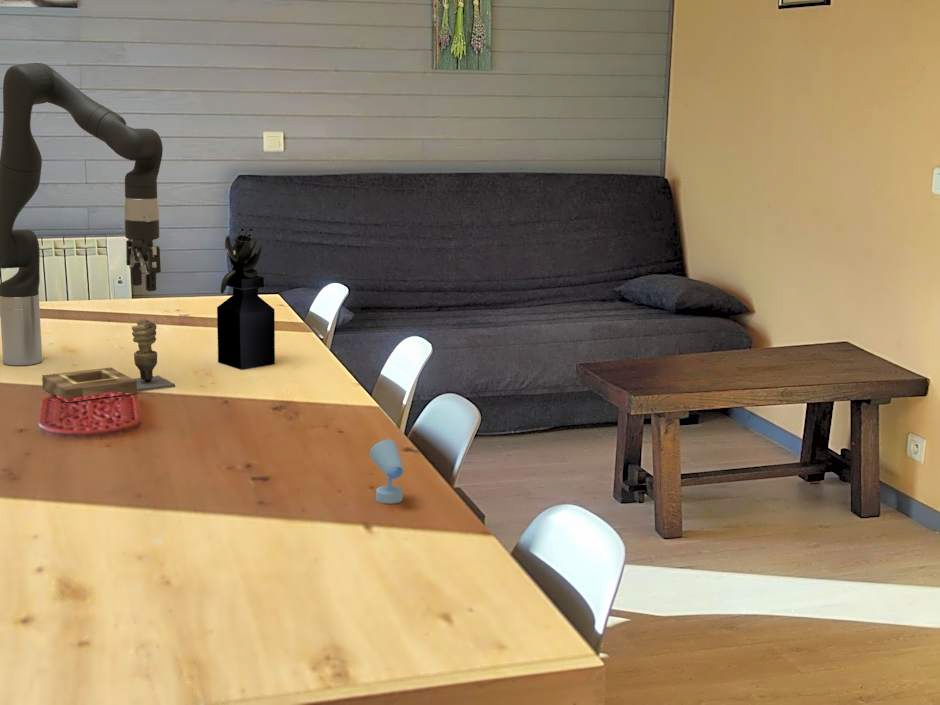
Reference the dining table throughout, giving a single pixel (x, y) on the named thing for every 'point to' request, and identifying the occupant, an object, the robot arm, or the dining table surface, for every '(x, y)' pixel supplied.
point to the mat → (153, 384)
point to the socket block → (88, 383)
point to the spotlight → (388, 470)
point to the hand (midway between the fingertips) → (143, 288)
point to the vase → (245, 312)
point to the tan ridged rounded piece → (145, 348)
